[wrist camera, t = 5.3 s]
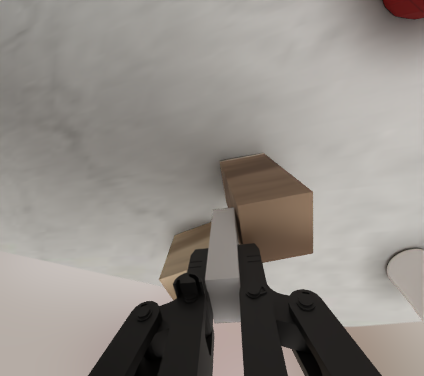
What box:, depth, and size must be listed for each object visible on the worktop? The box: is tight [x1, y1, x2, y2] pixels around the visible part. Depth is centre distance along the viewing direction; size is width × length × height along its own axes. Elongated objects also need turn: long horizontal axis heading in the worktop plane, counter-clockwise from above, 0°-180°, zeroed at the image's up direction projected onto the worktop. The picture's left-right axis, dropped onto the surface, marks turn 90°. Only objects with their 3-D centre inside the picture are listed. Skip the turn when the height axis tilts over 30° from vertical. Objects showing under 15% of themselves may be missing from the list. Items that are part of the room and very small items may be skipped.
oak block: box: [159, 222, 211, 300], centre depth 24 cm, size 5×5×7 cm
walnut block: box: [220, 153, 313, 263], centre depth 19 cm, size 4×4×10 cm
